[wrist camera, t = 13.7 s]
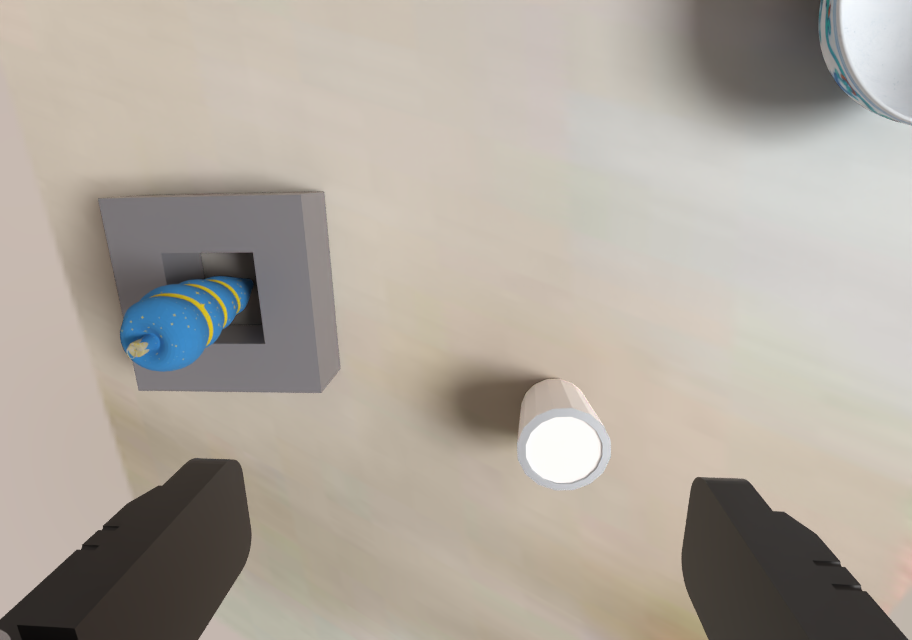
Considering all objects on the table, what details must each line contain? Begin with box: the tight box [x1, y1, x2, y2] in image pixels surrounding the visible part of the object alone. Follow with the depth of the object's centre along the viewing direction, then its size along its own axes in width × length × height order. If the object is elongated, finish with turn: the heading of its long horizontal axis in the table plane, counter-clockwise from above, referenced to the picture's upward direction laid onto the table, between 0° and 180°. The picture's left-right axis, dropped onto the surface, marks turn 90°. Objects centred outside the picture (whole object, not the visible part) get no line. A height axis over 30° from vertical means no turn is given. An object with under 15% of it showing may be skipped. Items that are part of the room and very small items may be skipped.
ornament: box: [120, 276, 254, 372], centre depth 36 cm, size 5×5×15 cm
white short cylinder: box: [517, 379, 611, 490], centre depth 41 cm, size 7×7×7 cm
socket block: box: [98, 192, 340, 393], centre depth 40 cm, size 15×15×5 cm
